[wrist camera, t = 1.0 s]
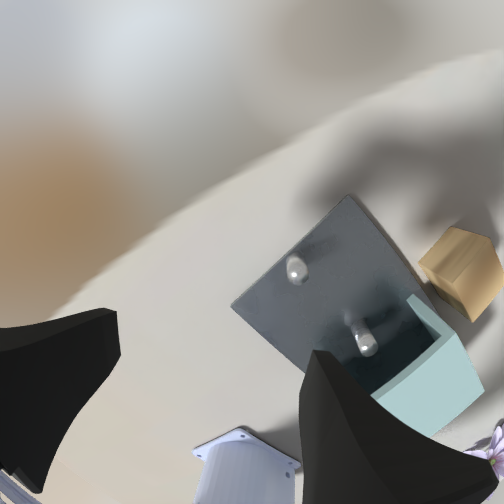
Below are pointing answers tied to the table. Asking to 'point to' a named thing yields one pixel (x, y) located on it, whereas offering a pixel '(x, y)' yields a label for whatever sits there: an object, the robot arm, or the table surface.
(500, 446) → the water lily
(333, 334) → the base plate
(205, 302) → the table surface
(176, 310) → the table surface
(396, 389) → the cover
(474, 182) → the table surface
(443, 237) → the oak block
